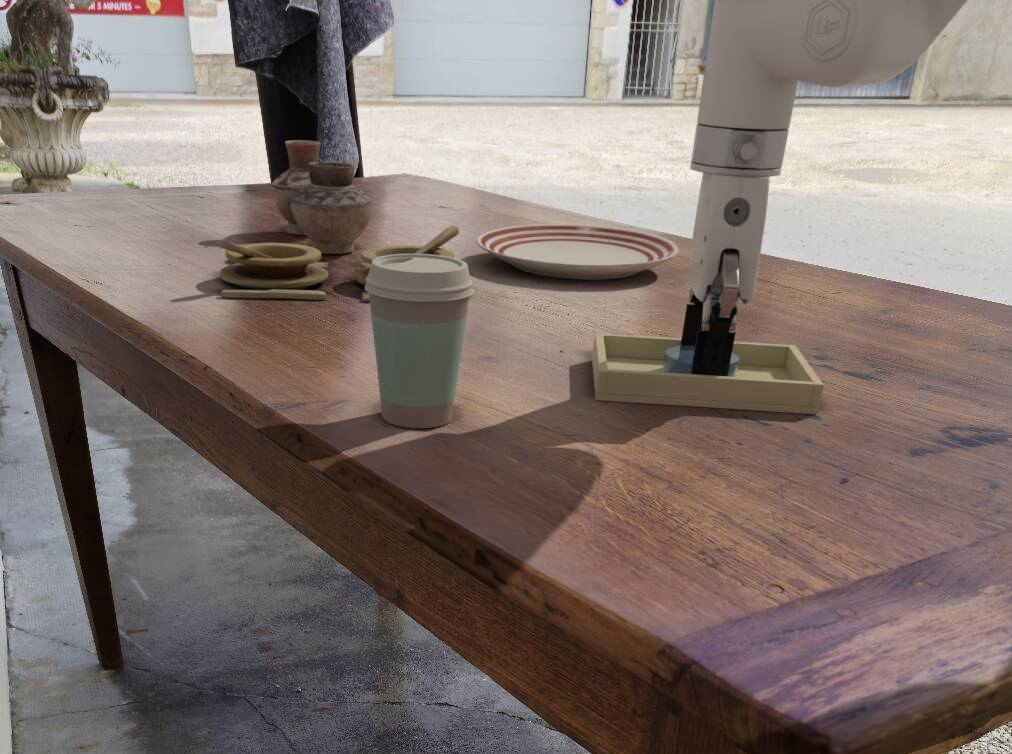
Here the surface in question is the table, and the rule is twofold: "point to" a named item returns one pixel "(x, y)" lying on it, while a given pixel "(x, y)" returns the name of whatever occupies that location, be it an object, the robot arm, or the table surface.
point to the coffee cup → (418, 334)
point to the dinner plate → (577, 250)
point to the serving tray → (704, 377)
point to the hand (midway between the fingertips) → (702, 362)
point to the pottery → (321, 199)
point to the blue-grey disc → (689, 361)
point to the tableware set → (302, 267)
